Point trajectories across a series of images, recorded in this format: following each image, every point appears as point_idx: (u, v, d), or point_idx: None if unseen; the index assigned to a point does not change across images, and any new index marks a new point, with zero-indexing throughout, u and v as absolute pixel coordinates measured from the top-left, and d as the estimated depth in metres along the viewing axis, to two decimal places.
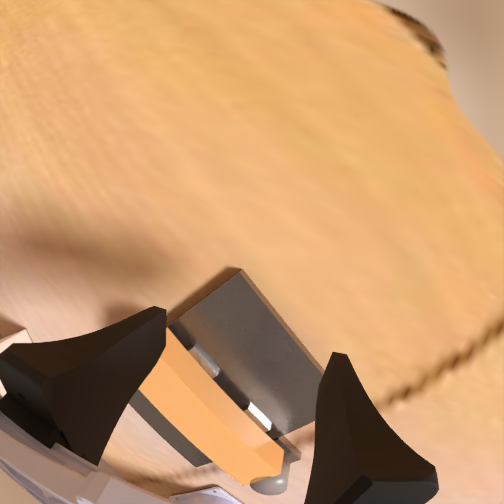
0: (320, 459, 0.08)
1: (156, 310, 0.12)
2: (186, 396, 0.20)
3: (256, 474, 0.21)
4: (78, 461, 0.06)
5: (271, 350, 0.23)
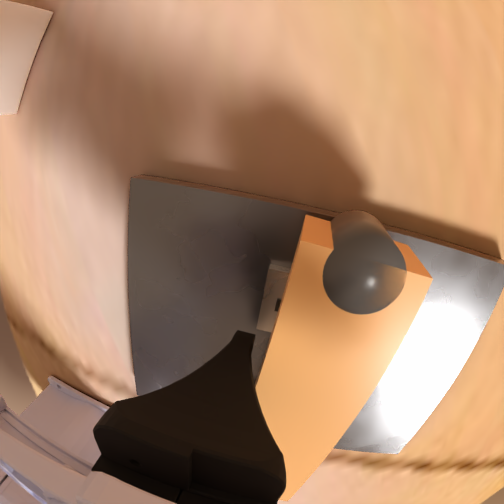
0: None
1: (247, 336, 0.12)
2: (355, 389, 0.09)
3: None
4: (78, 461, 0.06)
5: (432, 367, 0.13)
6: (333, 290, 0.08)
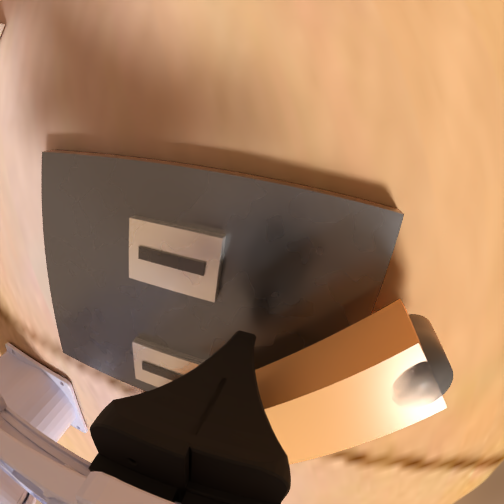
0: None
1: (244, 335, 0.12)
2: (339, 442, 0.11)
3: None
4: (78, 461, 0.06)
5: (320, 333, 0.14)
6: (400, 382, 0.09)
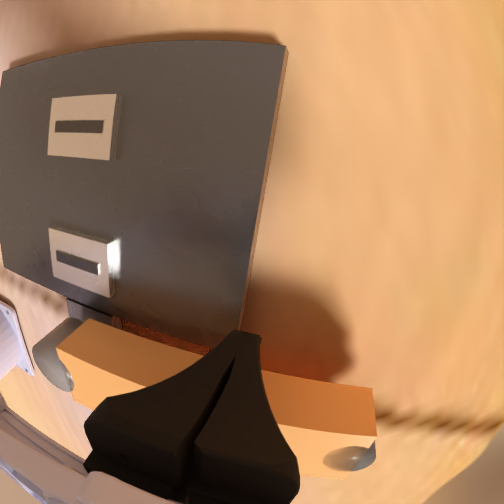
0: None
1: (240, 334, 0.12)
2: None
3: (79, 385, 0.13)
4: (78, 461, 0.06)
5: (213, 188, 0.12)
6: (341, 450, 0.11)
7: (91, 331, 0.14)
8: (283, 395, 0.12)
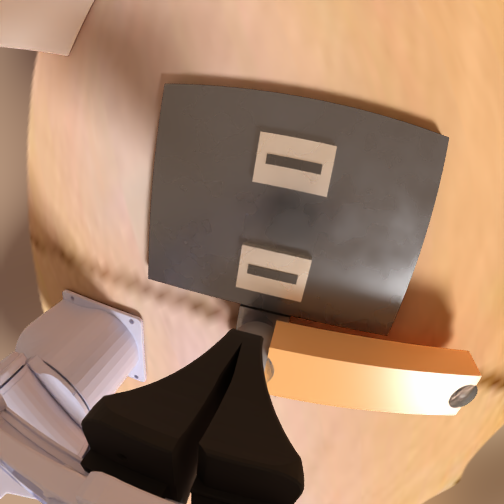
0: None
1: (238, 333, 0.12)
2: (409, 407, 0.17)
3: (278, 377, 0.18)
4: (78, 461, 0.06)
5: (400, 224, 0.17)
6: (461, 389, 0.16)
7: (288, 330, 0.19)
8: (429, 357, 0.17)
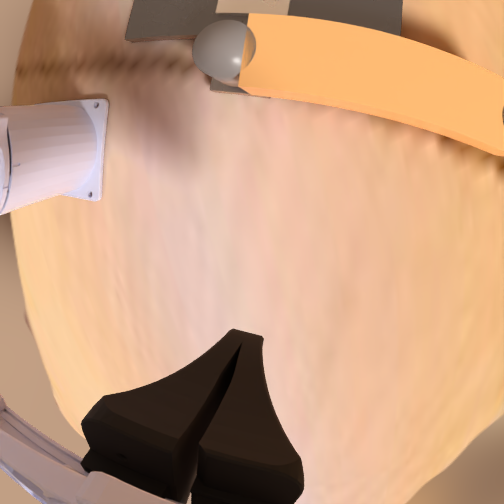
0: None
1: (238, 333, 0.12)
2: (455, 118, 0.11)
3: (262, 53, 0.12)
4: (78, 461, 0.06)
5: None
6: None
7: None
8: None
